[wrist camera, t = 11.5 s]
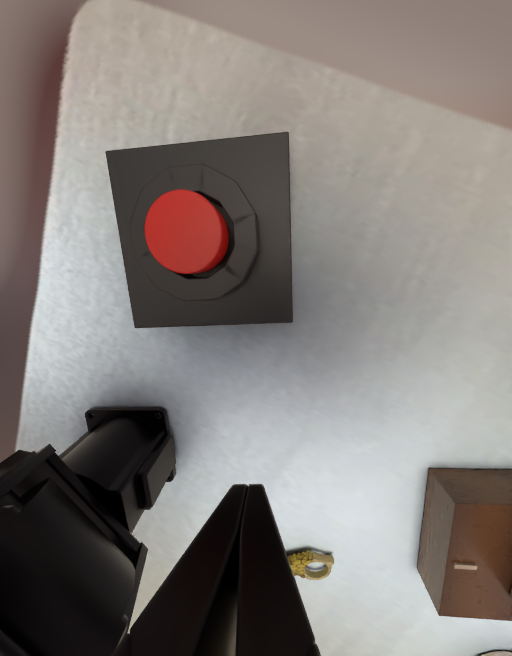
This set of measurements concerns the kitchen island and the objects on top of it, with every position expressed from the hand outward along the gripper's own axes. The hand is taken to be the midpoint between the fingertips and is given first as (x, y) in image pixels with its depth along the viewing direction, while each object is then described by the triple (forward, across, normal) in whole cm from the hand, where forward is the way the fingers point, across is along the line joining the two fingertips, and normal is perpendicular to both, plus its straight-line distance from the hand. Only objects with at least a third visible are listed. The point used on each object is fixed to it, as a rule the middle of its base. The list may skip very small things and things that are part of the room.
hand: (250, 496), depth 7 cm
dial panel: (+11, -16, +15) cm, 25 cm away
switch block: (+11, +3, -8) cm, 14 cm away
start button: (+8, +3, -8) cm, 12 cm away
